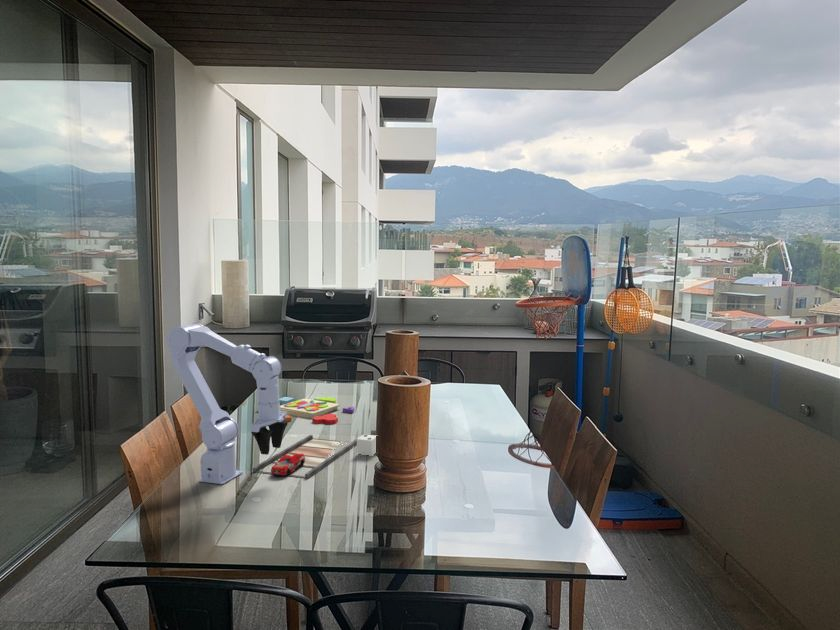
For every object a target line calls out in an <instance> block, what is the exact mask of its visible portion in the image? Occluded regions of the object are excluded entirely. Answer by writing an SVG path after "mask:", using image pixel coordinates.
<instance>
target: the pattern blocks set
mask: <svg viewBox="0 0 840 630" xmlns="http://www.w3.org/2000/svg"><path fill="white" fill-rule="evenodd" d="M279 403H280V411H287V418H286V419H284V420H283V421H288V422H292V418H293V417H297V418H305V419H312V423H313V424H316V425H319V424H325V425H334V424H335V425H336V424H338V422H339V418H338V417H337V414H335V413H331V412H333V411H335V410H337V409H338V408H339V407H340V406H341V404H339V403H337V399H336V397H329V396H328V397H327V396H324V397H317V398H314V399H310V398H302V399H297V400H295V398H294V397H290V396H283V397H279ZM354 412H355V406H349V407H348V406H347V407H343V408H342V413H346V414H354Z"/></svg>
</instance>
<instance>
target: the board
mask: <svg viewBox="0 0 840 630" xmlns="http://www.w3.org/2000/svg"><path fill="white" fill-rule="evenodd" d="M357 439H358V438H355V439H354V440H353V441H350V442H351V443H350V444H348V445H347V446H345V447H344V448H342V449H341V450H340V451H338V452H337V453H335V454H334V455H332V456H331V455H330V454H331V453H332V449H333V448H334V447H336V448H337V447H338V445H339V444H340V443H339V442H340V441H341V440H333V439H326V438H325V439H324V438H314V436H313V434H309V435H307V436H306V437H304V438H301V439H300V440H299V441H297V442H295V443H293V444H292V445H290V446H288V447H286V448H285V449H283V450H281V451H279V452H278V453H276V454H274V455H272V456H271V457H269V458H268V459H266V460H264V461H262V462H260V463H259V464H257V465H255V466H254V467H252V473H256V474H257V473H260V474H265V475H266V474H267V475H273V474H272V473H271V471H270V472H269V471H262V469H264V468H265V467H268V466H269V465H271V464H274V463H275V464H276V463H277V462H278V461H277V459H278V460H280V459H281V458H282V456H284V455H286V454H288V453H302V454H304V456H305V463H304V464H303V466H300V467H302V468H311V469H310V470H308V471H307V472H306V473H304V476H303V475H295V474H289V475H288V476H287V475H281V476H282V477H283V476H284V477H293V478H299V479H300V478H301V479H307V480H308V479H310V478H311V477H313V476H314V475H316V474H318V473H319V472H320V471H321V470H323V469H324V468H326V467H328V465H330V464H331V463H333V462H334V461H336V460H337V459H339V458H340V457H342V456H343V455H344V454H346V453H347V452H348V451H350V450H351V449H353V448H354V447H356V446H357V445H356V444H357ZM344 441H345V440H344ZM345 442H347V441H345ZM337 443H338V444H337ZM341 443H342V442H341ZM332 444H334V445H333V446H332ZM346 444H347V443H346ZM342 445H343V444H342ZM355 445H356V446H355ZM353 446H354V447H353ZM352 447H353V448H352ZM336 448H335V449H336ZM350 448H351V449H350ZM335 449H334V450H335ZM337 449H338V448H337ZM349 449H350V450H349ZM334 450H333V451H334ZM346 451H347V452H346ZM330 452H331V453H330ZM345 452H346V453H345ZM343 453H344V454H343ZM328 454H329V455H330V456H331V457H329V458H328V459H326V458H327V457H328ZM342 454H343V455H342ZM326 456H327V457H326ZM339 456H340V457H339ZM325 457H326V458H325ZM336 458H337V459H336ZM325 459H326V460H325ZM335 459H336V460H335ZM333 460H334V461H333ZM332 461H333V462H332ZM329 463H330V464H329ZM275 464H274V465H275ZM325 466H326V467H325Z"/></svg>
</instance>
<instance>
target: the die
mask: <svg viewBox="0 0 840 630" xmlns="http://www.w3.org/2000/svg"><path fill="white" fill-rule="evenodd" d="M376 436H377V435H374V434H373V435H372V434H362V435H360V436H359V437H358V438H356V439H357V445H356V455H357V454H362V455H369V456H368V457H373V456H375V455H376V454H377V453H376ZM375 453H376V454H375ZM374 454H375V455H374ZM362 455H361V456H362Z"/></svg>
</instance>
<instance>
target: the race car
mask: <svg viewBox="0 0 840 630" xmlns="http://www.w3.org/2000/svg"><path fill="white" fill-rule="evenodd" d="M279 459H280V458H279ZM279 459H278V460H276V461H278V462H277V463H276V464H274V465H272V467H271V469H270V472H271V473H272V474H271V475H273V476H282V475H287V476H286V477H289V476H288V475H291V473H292V472H294V471H296V470H297V469H298V468H300V467H301V466H303V464H304V463H305V456H304V454H302V453H290V452H289V453H288V454H286V455H284V456H283V457H281V459H280V460H279Z"/></svg>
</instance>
